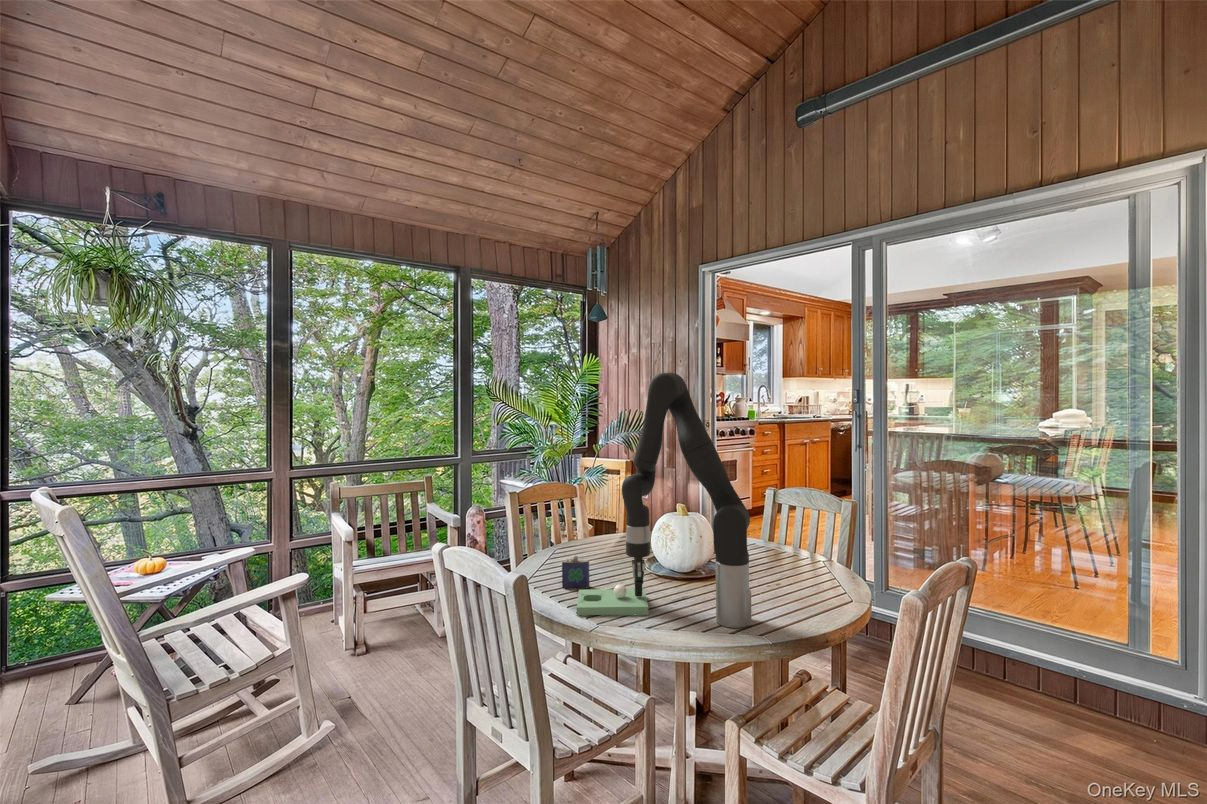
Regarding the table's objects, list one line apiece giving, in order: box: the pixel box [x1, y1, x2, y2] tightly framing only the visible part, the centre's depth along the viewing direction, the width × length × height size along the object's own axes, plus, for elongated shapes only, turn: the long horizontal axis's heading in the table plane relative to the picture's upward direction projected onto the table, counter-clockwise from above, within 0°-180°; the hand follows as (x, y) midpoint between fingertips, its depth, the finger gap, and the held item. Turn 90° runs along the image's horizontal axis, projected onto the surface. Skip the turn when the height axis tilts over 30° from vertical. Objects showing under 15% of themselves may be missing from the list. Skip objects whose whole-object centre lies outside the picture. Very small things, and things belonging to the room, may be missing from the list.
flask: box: [561, 555, 590, 589], centre depth 189 cm, size 9×3×11 cm, turn 95°
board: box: [576, 588, 649, 616], centre depth 173 cm, size 21×15×2 cm
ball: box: [613, 583, 627, 598], centre depth 173 cm, size 4×4×4 cm
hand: (638, 595), depth 173 cm, fingers closed
